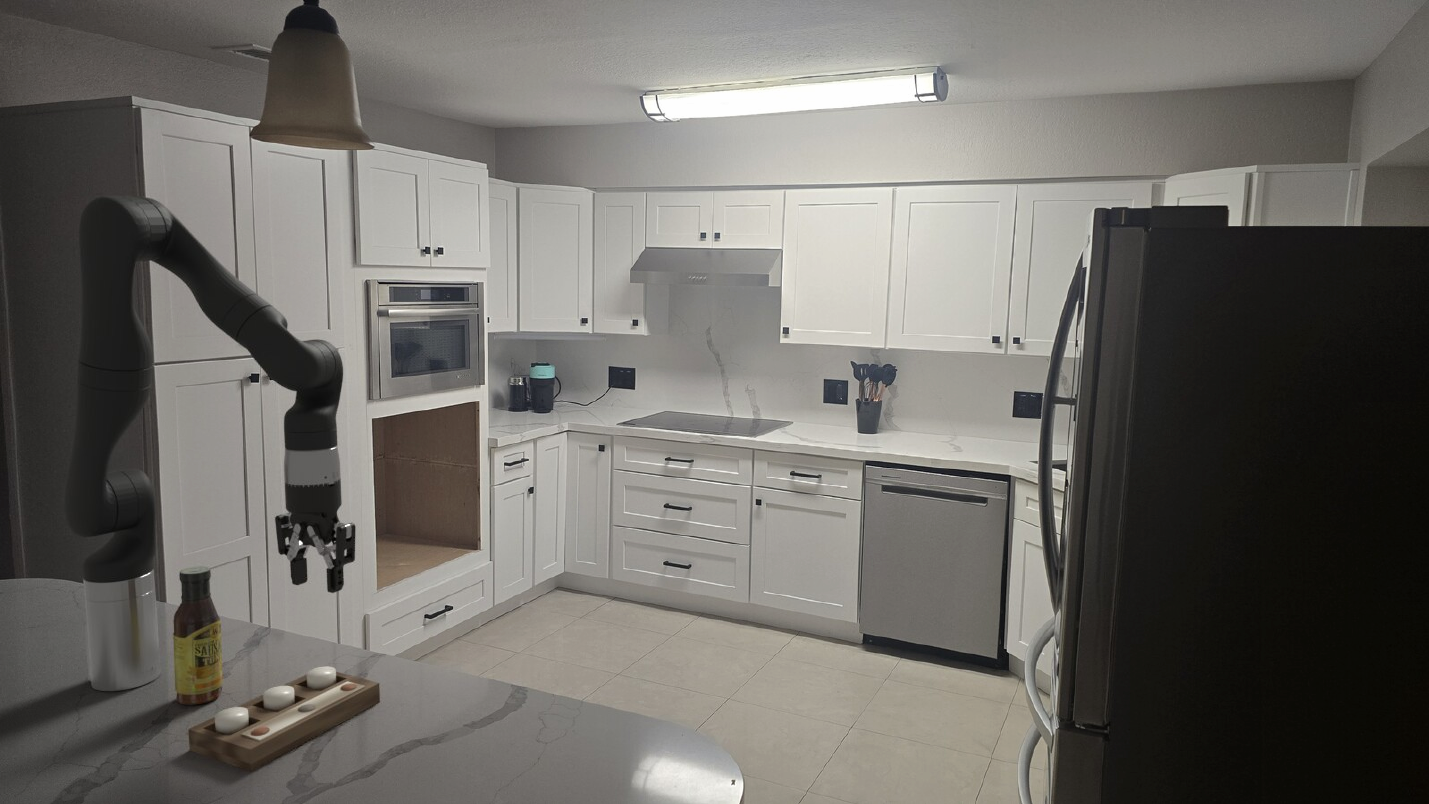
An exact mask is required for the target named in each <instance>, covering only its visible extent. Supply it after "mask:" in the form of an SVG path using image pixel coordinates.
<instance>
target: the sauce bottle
mask: <svg viewBox="0 0 1429 804" xmlns="http://www.w3.org/2000/svg"><path fill="white" fill-rule="evenodd" d="M211 573H212V572H211V568H210V567H208V566H203V565H202V566H192V567H186V568H183V569H181V570H180V571H179V581H180V583H181V585H180V586H181V588H180V589H181V597H180V598H181V602H180V604H179V606H178V607H177V610H176V611H175V613H174V614H173V615H174V616H173V634H172V637H173V638H172V640H173V658H174V659H173V662H174V666H173V667H174V691H175V692H176V701H177V703H179V704H180V705H186V706H195V705H200V704H201V705H202V704H206V703H209V702H212V701H214V700H216V699H217V698H219V696H220V695H221V694H222V691H223V684H224V683H223V682H224V681H223V655H222V654H223V651H222V627H221V626H222V625H221V622H222V621H221V619H220V616H219V615H218V611H217V609H216V606H215V604H214V602H213V599H212V594H211V584H210V582H211V581H210V580H211V577H212V575H211Z"/></svg>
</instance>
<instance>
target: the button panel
mask: <svg viewBox="0 0 1429 804" xmlns="http://www.w3.org/2000/svg"><path fill="white" fill-rule="evenodd" d="M282 686H291V687H293V688H294V697H295V704H294V705H292V706H290V707H288V708H285V709H283V710H281V711H276V712H272V711H269V710H266V709H264V701H263V694H262V695H259V696H258V697H255V698H253V699H251V700H249V701H246V702H244V703H241V704H239V705H238V706H236V707H244V708H246V709H248V717H249V726H248V727H247V728H245V729H243V730H241V731H238V732H236V733H234V734H231V735H222V734H219V733H216V729H215V716H214V717H212V718H209V719H207V720H205V721H203V722H200V723H198V724H196V725H194V726H192V727H190V728H188V730H187V731H188V744H189V745H188V747H189V751H190V752H191V751H192V752H194V753H197V754H199V755H203V756H205V757H209V758H211V759H215V760H218V761H221V762H224V763H225V764H228V765H232V766H235V767H237V768H240V769H244V770H247V771H249V772H253V771H256V770H257V769H259V768H260V767H262V766H264V765H266V764H269V762H272V761H273V760H275V759H277V758H279V757H281V756H283V755H285V754H287V753H289V752H290V751H292V750H294V749H295V748H297V747H299V746H301V745H303V744H305V743H306V742H308V741H310V740H312V739H314V738H316V737H318V736H319V735H322V734H323V733H325V732H327V731H329V730H330V729H333V728H334V727H336V726H338V725H340V724H341V723H343V722H346V721H348V720H349V719H351V718H353V717H355V716H357V715H358V714H360V713H362V712H364V711H365V710H369V708H371V707H374V706H375V705H377V704H379V703H380V702H381V695H380V694H381V692H380V683H379V682H377V681H374V680H370V679H365V678H362V677H358V676H353V675H350V674H346V673H344V672H339V671H336V684H335V685H332V686H330V687H328V688H326V689H324V690H319V691H317V690H313V689H310V688H307V674H304V675H302V676H300V677H298V678H295V679H293V680H292V681H290V682H288V683H285V684H283V685H282Z"/></svg>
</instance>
